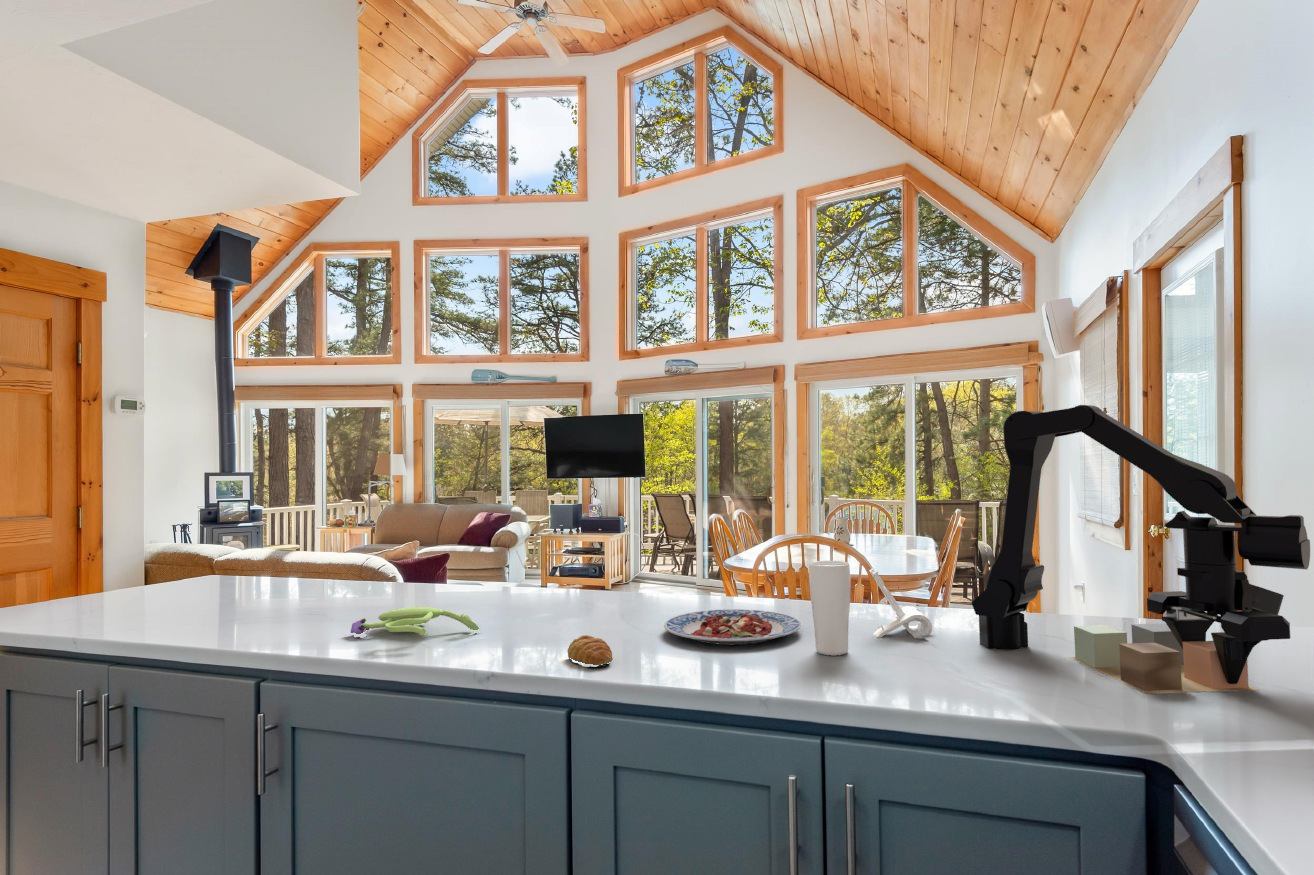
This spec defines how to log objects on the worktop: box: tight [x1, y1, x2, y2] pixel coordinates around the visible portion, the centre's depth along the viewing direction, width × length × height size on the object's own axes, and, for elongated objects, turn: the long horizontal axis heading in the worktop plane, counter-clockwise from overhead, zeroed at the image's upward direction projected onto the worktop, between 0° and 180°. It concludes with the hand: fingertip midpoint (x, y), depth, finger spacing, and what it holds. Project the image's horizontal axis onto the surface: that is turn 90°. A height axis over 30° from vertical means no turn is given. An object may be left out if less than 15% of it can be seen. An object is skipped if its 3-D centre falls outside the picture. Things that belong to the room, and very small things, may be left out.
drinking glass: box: [808, 560, 851, 657], centre depth 126 cm, size 7×7×15 cm
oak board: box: [1068, 656, 1259, 695], centre depth 107 cm, size 15×18×1 cm
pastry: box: [567, 635, 614, 665], centre depth 124 cm, size 9×7×4 cm
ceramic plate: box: [663, 608, 802, 645], centre depth 141 cm, size 26×26×3 cm
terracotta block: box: [1183, 640, 1250, 689], centre depth 102 cm, size 5×5×5 cm
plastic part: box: [869, 567, 933, 639], centre depth 138 cm, size 8×10×12 cm
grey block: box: [1130, 622, 1184, 665], centre depth 113 cm, size 5×5×5 cm
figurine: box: [350, 606, 480, 636], centre depth 147 cm, size 18×27×6 cm
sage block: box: [1073, 624, 1128, 668], centre depth 113 cm, size 5×5×5 cm
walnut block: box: [1119, 642, 1182, 691], centre depth 102 cm, size 5×5×5 cm
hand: (1215, 677), depth 102 cm, fingers open, 6 cm apart
